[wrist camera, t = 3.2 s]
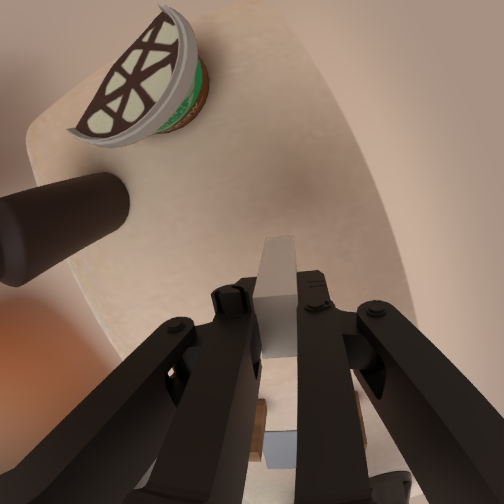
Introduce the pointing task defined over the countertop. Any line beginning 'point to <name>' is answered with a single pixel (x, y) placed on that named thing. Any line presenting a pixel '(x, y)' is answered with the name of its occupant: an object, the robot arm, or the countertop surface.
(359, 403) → the post
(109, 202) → the bottle
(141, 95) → the food container
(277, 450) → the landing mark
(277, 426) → the countertop surface
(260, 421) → the post
